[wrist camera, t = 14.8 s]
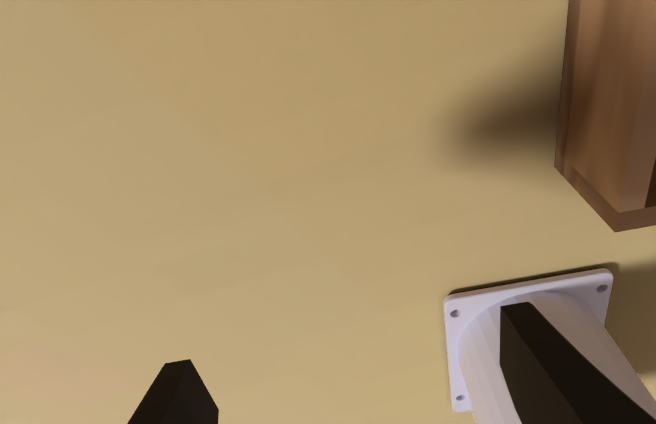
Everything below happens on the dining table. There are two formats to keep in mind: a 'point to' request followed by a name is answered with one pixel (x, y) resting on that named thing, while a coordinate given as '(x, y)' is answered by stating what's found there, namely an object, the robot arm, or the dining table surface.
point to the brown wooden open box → (610, 109)
